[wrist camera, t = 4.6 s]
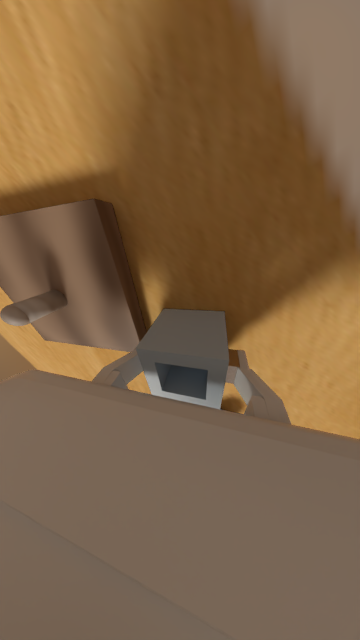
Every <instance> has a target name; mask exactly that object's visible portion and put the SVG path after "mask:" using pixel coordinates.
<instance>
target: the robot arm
mask: <svg viewBox="0 0 360 640" xmlns="http://www.w3.org/2000/svg"><path fill="white" fill-rule="evenodd" d="M139 343H140V342H139ZM137 346H138V345H137ZM137 346H136V347H137ZM228 352H229V365H228V370H227V375H226V381H225V382H227V383H233V384H234V385H235V387H236V389H237V390H238V392H239V393H240V395H241V396H242V398H243V399H244V401H245V402H246V404H247V408H246V410H245V413H244V414H239V413H235V412H230V411H225V410H221V409H216V408H212V407H207V406H202V405H198V404H193V403H188V402H184V401H179V400H174V399H170V398H165V397H160V396H156V395H151V394H146V393H142V392H137V391H132V390H129V389H128V387H127V384H128V383H129V382H130V381H131V380H133V379H134V378H135V377H136V376H137V375H139V374H140V373H141V372H142V371H143V368H142V365H141V362H140V360H139V357H138V354H137V351H136V348H135V349H134V350H133V352H132V353H131V352H130V353H129V354H127V355H125V356H123V357H121V358H120V359H118V360H116V361H114V362H113V363H111V364H109V365H107V366H105V367H104V368H103V369H102V370H101V371H100V372H99V373H98V374H97V376H96V377H95V378H94V379H93V380H92V382H91V381H86V380H81V379H77V378H72V377H67V376H63V375H58V374H54V373H49V372H44V371H40V370H34V369H33V370H28V371H25V372H23V373H19V374H17V375H14V376H12V377H10V378H7V379H5V380H2V381H0V640H360V439H356V438H351V437H346V436H342V435H337V434H333V433H328V432H323V431H319V430H314V429H309V428H305V427H300V426H295V425H291V422H290V420H289V417H288V414H287V412H286V409H285V407H284V404H283V402H282V400H281V399H280V398H279V397H278V396H277V395H276V394H275V393H274V392H273V391H272V390H271V389H270V388H269V387H268V385H267V384H266V383H265V382H264V381H263V380H262V379H261V378H260V377H259V376H258V375H257V374H256V373H255V372H254V371H253V370H252V369H249V366H248V362H247V358H246V354H245V351H243V350H233V349H228Z"/></svg>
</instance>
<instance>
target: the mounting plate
mask: <svg viewBox="0 0 360 640" xmlns="http://www.w3.org/2000/svg"><path fill="white" fill-rule="evenodd" d="M0 287H1V288H2V289H3V290H4V292H5V293H6V294H7V295H8V296H9V298H10V299H11V300H12V301H13V302H14V303H13V304H11V305H8V306H6V307H4V308H3V309H2V311H1V313H0V316H1V318H2V320H3V321H4V322H6V323H8V324H10V325H15V326H22V325H26V324H29V323H31V324H32V325H33V327H34V328H35V329H36V330H37V331H38V333H39V334H40V335H41V336H42V337H43V339H44V340H47V341H54V342H61V343H69V344H76V345H83V346H90V347H98V348H105V349H112V350H119V351H127V352H133V350H134V349H135V348H136V346H137V345H138V344H139V342H140V341H141V340H142V339H143V337H144V336H145V334H146V329H145V325H144V322H143V318H142V314H141V310H140V307H139V303H138V299H137V296H136V292H135V288H134V284H133V281H132V277H131V273H130V269H129V266H128V262H127V258H126V254H125V251H124V247H123V243H122V239H121V236H120V232H119V228H118V225H117V221H116V217H115V213H114V210H113V206H112V204H111V203H108V202H104V201H100V200H97V199H89V200H84V201H78V202H73V203H68V204H62V205H57V206H52V207H46V208H41V209H36V210H30V211H25V212H20V213H14V214H9V215H4V216H0Z"/></svg>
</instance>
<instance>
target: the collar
mask: <svg viewBox="0 0 360 640" xmlns="http://www.w3.org/2000/svg"><path fill="white" fill-rule="evenodd" d="M136 351H137V354H138V357H139V360H140V362H141V365H142V368H143V371H144V374H145V377H146V379H147V382H148V385H149V388H150V391H151V394H152V395H156V396H160V397H165V398H170V399H174V400H179V401H184V402H188V403H193V404H198V405H202V406H207V407H212V408H216V409H220V407H221V401H222V396H223V391H224V386H225V381H226V375H227V370H228V365H229V352H228V341H227V331H226V321H225V311H204V310H183V309H163V310H162V312H161V313H160V315H159V316H158V317H157V319H156V320H155V322H154V323H153V325H152V326H151V327H150V329H149V330H148V332H147V333H146V334H145V336H144V337H143V339H142V340H141V341H140V343H139V344H138V346H137V347H136Z"/></svg>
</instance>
